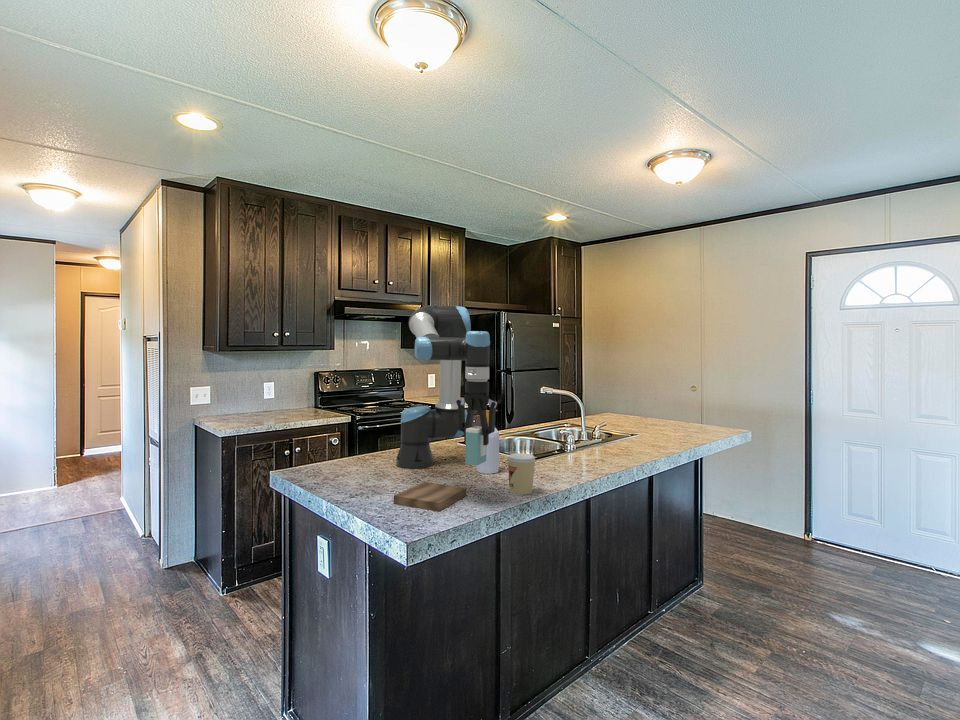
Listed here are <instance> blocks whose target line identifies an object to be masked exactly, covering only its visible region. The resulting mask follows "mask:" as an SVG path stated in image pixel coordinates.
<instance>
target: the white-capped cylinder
mask: <svg viewBox="0 0 960 720" xmlns="http://www.w3.org/2000/svg"><path fill="white" fill-rule="evenodd" d="M535 461H536V457H535V456H534V454H531V453H530V454H529V453H523V452H522V453H518V452H517V453H510V454H509V455H508V456H507V468H508V469H507V470H508V488H509V492H510V493H511V494H514V495H517V496H518V495H519V496H523V495H530V494H532V493H533V487H534V477H535V475H534V474H535V466H536V465H535Z"/></svg>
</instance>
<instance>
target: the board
mask: <svg viewBox="0 0 960 720" xmlns="http://www.w3.org/2000/svg"><path fill="white" fill-rule="evenodd" d="M466 496H467V487H461V486H457V485H455V486H454V485H449V484H443V483H442V484H441V483H435V482H430V481H429V482H427V481H423V482H421V483H419V484H416V485H414V486H412V487H409V488H407V489H405V490H403V491H401V492H398V493H397V494H394V495H393V505H399V506H405V507H410V508H411V507H412V508H416V509H417V508H418V509H423V510H428V511H434V512H441V511H442V510H444V509H446V508H448V507H450V506H451V505H453V504H454V503H457V502H458V501H460V500H462V499H463V498H465V497H466Z"/></svg>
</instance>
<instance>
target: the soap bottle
mask: <svg viewBox="0 0 960 720" xmlns="http://www.w3.org/2000/svg"><path fill="white" fill-rule="evenodd" d="M496 412H498V409H496ZM486 416H487V422H488V423H489V409H486ZM499 466H500V433H499V431H498V429H497V428H496V427H495V431H494V432H493V433H491V434H489V443H488V445H486V462H484V463H481V464H479V465H477V466H476V472H477V473H480V474H483V475H484V474H485V475H491V474H493V473H494V474H497V473H498V472H499V471H500V467H499ZM494 474H493V475H494Z"/></svg>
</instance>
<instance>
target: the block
mask: <svg viewBox="0 0 960 720" xmlns="http://www.w3.org/2000/svg"><path fill="white" fill-rule="evenodd" d="M482 434H483V432H482V426H481V425H474V426H471V427H470V428H467V429H466V443H465V455H464V456H465V459H464V462H465V463H464V465H469V466H476V467H477V465H479V464H481V463H484V462H486V455H484V456H480V435H482Z"/></svg>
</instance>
